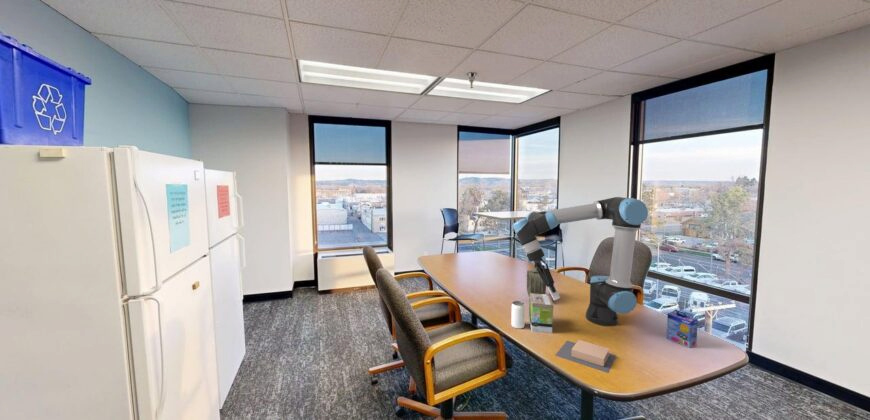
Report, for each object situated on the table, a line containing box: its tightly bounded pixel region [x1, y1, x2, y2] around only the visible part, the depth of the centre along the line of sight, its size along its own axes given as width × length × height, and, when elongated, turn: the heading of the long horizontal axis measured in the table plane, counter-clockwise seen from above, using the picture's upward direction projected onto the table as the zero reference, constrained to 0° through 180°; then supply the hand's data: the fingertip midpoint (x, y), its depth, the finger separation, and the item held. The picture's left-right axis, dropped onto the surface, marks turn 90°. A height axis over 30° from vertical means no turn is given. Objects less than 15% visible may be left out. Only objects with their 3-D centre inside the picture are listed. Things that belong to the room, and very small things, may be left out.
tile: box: [571, 339, 610, 366], centre depth 134 cm, size 3×10×12 cm
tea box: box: [528, 293, 554, 334], centre depth 162 cm, size 15×10×15 cm
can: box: [510, 300, 526, 330], centre depth 163 cm, size 6×6×12 cm
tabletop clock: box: [526, 267, 547, 298], centre depth 196 cm, size 14×9×25 cm, turn 172°
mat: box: [554, 340, 618, 374], centre depth 135 cm, size 20×16×1 cm
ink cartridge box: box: [666, 310, 699, 349], centre depth 146 cm, size 10×6×14 cm, turn 27°
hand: (556, 298), depth 147 cm, fingers closed
